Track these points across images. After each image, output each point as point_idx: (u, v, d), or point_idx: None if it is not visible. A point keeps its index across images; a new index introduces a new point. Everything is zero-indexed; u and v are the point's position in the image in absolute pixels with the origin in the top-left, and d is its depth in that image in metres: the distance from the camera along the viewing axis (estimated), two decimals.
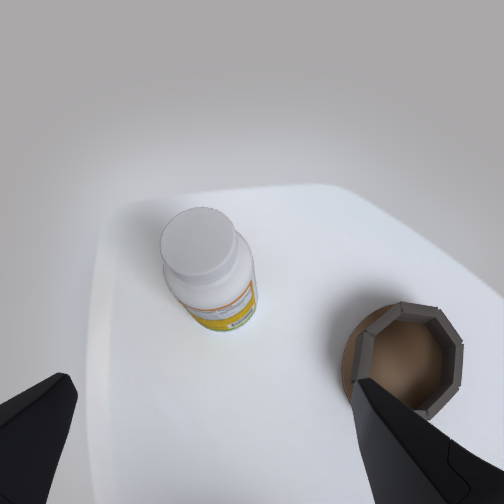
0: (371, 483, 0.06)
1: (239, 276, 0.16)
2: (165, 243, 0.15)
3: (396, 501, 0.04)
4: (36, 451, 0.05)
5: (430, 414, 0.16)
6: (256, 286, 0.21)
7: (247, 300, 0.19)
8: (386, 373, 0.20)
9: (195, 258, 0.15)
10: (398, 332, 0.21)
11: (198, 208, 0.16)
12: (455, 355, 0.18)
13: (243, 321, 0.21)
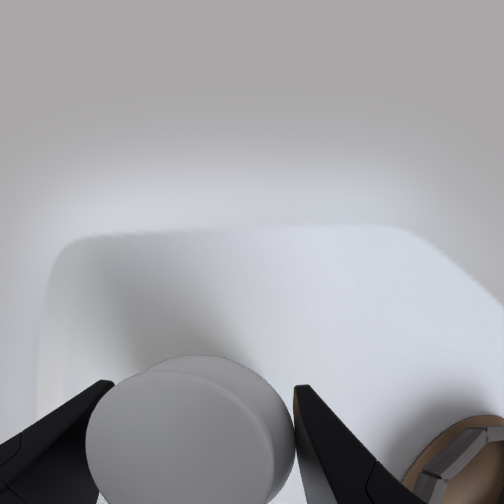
0: (306, 494, 0.06)
1: None
2: (96, 456, 0.05)
3: None
4: (82, 467, 0.05)
5: None
6: None
7: None
8: None
9: None
10: None
11: (169, 374, 0.05)
12: None
13: None
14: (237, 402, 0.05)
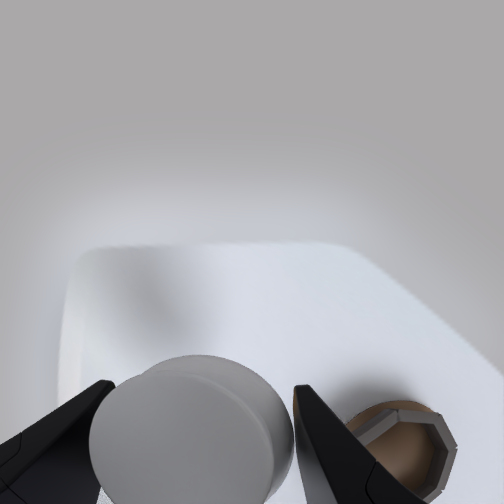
0: (305, 494, 0.06)
1: None
2: (100, 455, 0.05)
3: None
4: (82, 468, 0.05)
5: None
6: None
7: None
8: None
9: None
10: (390, 432, 0.17)
11: (171, 374, 0.06)
12: (446, 461, 0.13)
13: None
14: (237, 401, 0.05)
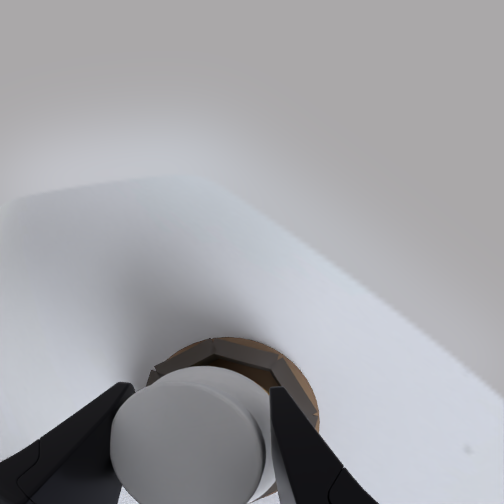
0: (279, 496, 0.06)
1: (265, 480, 0.07)
2: (118, 454, 0.06)
3: None
4: (102, 473, 0.05)
5: None
6: None
7: None
8: None
9: (181, 495, 0.05)
10: None
11: (176, 384, 0.07)
12: None
13: None
14: (231, 404, 0.06)
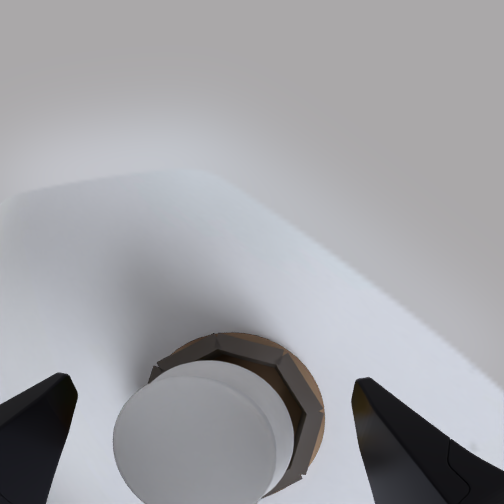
0: (371, 483, 0.06)
1: (272, 477, 0.07)
2: (123, 453, 0.06)
3: (396, 501, 0.04)
4: (36, 451, 0.05)
5: None
6: None
7: None
8: None
9: (191, 495, 0.05)
10: None
11: (185, 379, 0.06)
12: (303, 428, 0.12)
13: None
14: (243, 399, 0.06)
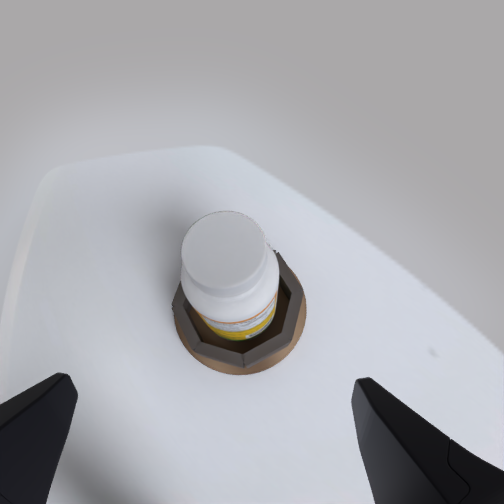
0: (371, 483, 0.06)
1: (266, 287, 0.15)
2: (187, 251, 0.14)
3: (396, 501, 0.04)
4: (36, 451, 0.05)
5: (247, 359, 0.19)
6: None
7: (270, 311, 0.18)
8: None
9: (222, 268, 0.13)
10: None
11: (223, 212, 0.15)
12: (289, 303, 0.20)
13: (261, 331, 0.20)
14: (250, 219, 0.14)
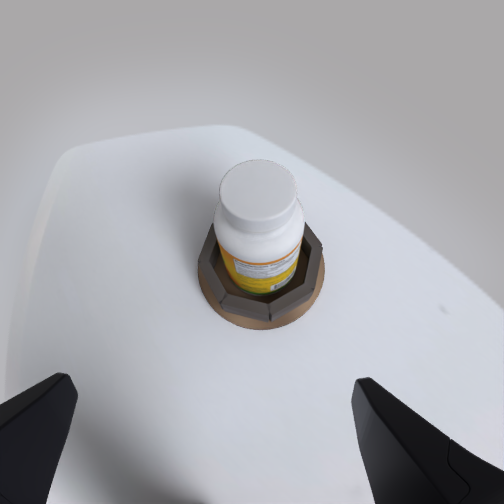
0: (371, 483, 0.06)
1: (295, 228, 0.17)
2: (225, 191, 0.15)
3: (396, 501, 0.04)
4: (36, 451, 0.05)
5: (272, 309, 0.20)
6: None
7: (295, 257, 0.19)
8: None
9: (259, 204, 0.15)
10: None
11: (255, 160, 0.16)
12: (310, 256, 0.22)
13: (284, 283, 0.22)
14: (281, 165, 0.16)
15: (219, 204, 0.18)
